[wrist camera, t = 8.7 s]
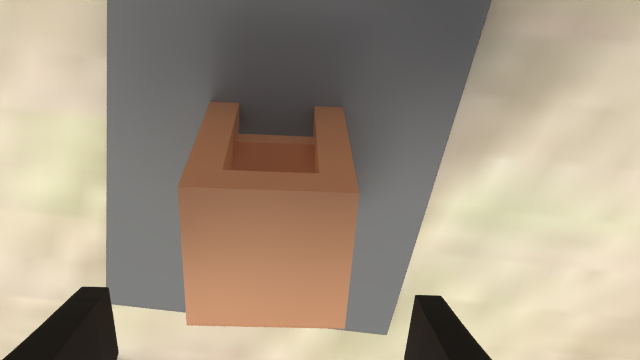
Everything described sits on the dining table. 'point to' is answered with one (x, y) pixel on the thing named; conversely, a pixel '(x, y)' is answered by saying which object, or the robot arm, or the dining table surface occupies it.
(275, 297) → the notched tan cube
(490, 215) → the dining table surface
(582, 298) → the dining table surface
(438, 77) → the rubber mat
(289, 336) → the dining table surface
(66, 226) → the dining table surface
